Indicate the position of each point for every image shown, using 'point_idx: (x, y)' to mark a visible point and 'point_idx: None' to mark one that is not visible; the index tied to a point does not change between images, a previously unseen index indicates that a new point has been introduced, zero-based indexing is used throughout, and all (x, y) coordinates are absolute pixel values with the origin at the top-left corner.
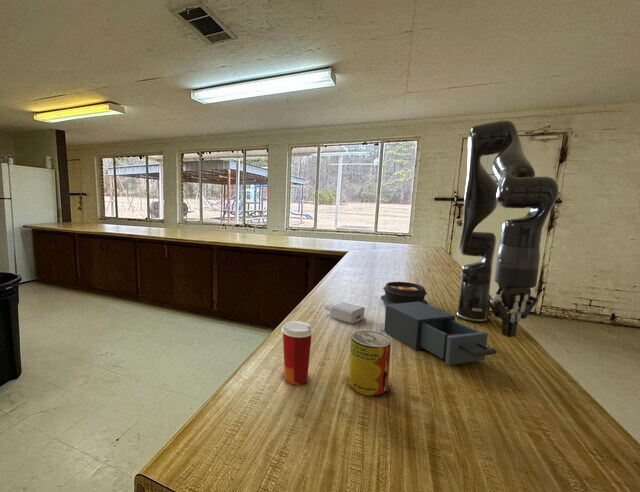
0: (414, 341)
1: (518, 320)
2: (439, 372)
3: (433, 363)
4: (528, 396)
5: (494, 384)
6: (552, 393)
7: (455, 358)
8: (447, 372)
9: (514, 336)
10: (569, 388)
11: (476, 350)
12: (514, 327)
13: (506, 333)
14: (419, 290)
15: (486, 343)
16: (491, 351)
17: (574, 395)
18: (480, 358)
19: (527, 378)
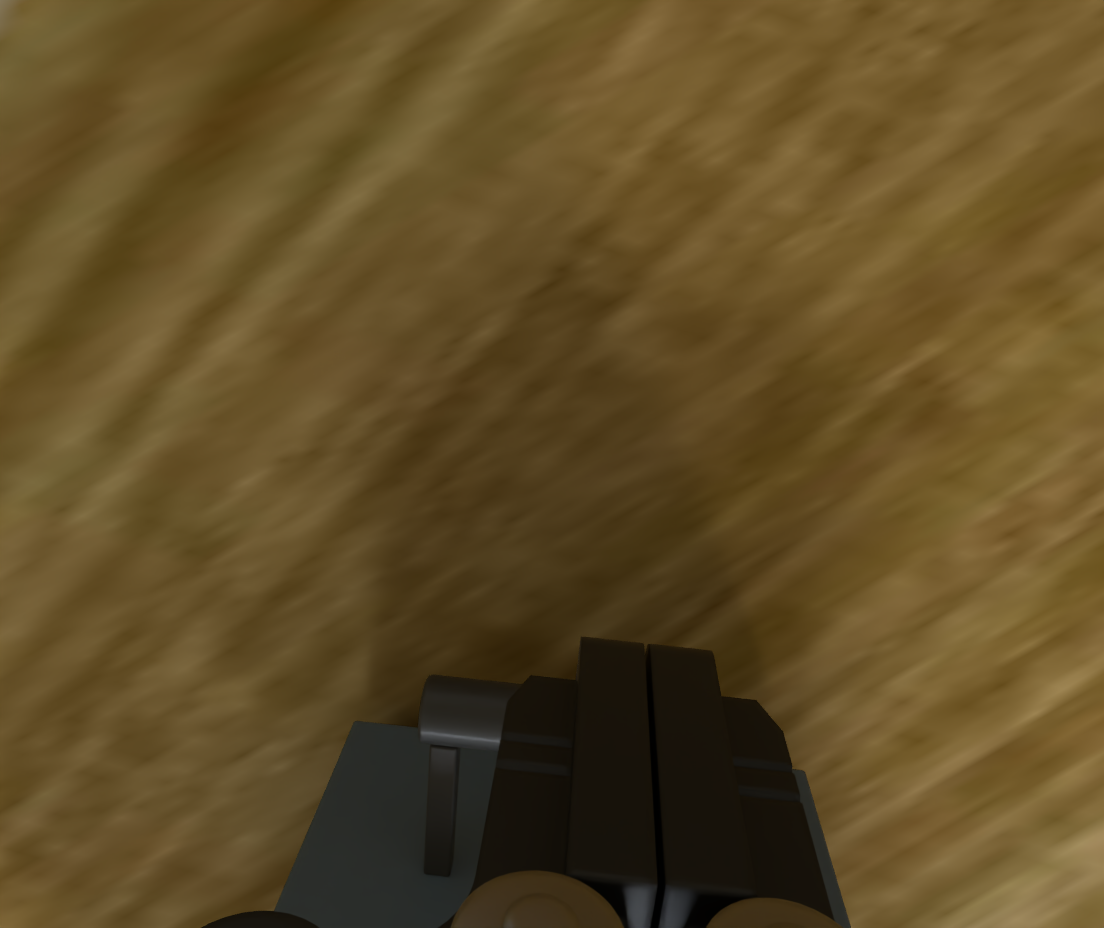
0: None
1: (570, 910)
2: (947, 730)
3: (836, 842)
4: (582, 180)
5: (674, 430)
6: (288, 130)
7: None
8: (877, 706)
9: (590, 638)
10: (17, 127)
11: (456, 813)
12: (651, 775)
13: (767, 736)
14: None
15: (303, 849)
16: (503, 705)
17: (105, 26)
18: (409, 738)
19: (244, 389)
